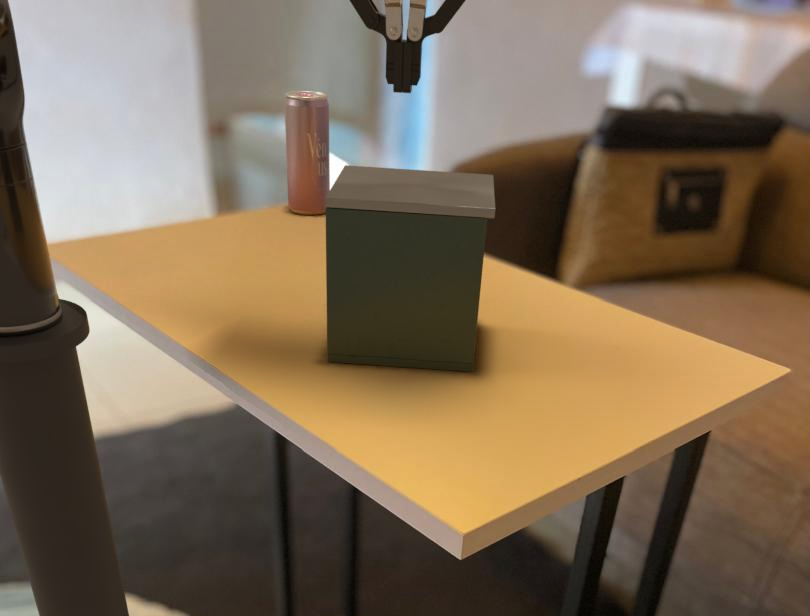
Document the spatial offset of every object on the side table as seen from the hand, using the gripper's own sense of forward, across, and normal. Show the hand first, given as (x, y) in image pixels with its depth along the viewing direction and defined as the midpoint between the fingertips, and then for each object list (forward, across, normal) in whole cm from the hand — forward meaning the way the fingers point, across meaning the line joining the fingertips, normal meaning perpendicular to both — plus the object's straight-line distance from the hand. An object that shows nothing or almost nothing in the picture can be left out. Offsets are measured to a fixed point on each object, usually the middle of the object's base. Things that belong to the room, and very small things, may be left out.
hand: (403, 91), depth 70 cm
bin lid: (+8, +1, 0) cm, 8 cm away
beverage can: (+22, -16, +46) cm, 54 cm away
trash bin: (+22, +1, 0) cm, 22 cm away
